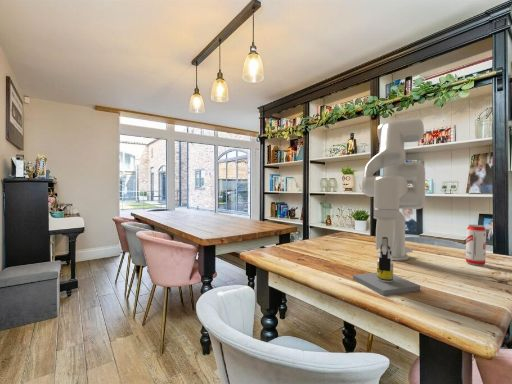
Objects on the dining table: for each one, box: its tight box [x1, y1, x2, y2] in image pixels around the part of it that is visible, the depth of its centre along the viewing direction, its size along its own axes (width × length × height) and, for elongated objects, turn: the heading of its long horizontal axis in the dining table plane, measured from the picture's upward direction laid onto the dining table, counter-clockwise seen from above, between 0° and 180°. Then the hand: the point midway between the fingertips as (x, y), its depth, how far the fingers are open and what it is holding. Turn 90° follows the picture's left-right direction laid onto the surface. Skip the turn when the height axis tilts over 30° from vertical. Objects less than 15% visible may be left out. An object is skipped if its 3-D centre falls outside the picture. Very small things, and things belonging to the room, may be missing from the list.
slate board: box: [352, 271, 421, 296], centre depth 88 cm, size 14×14×2 cm
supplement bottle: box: [376, 253, 394, 282], centre depth 87 cm, size 5×5×8 cm
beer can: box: [465, 224, 487, 267], centre depth 110 cm, size 6×6×16 cm
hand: (385, 265), depth 88 cm, fingers open, 9 cm apart
